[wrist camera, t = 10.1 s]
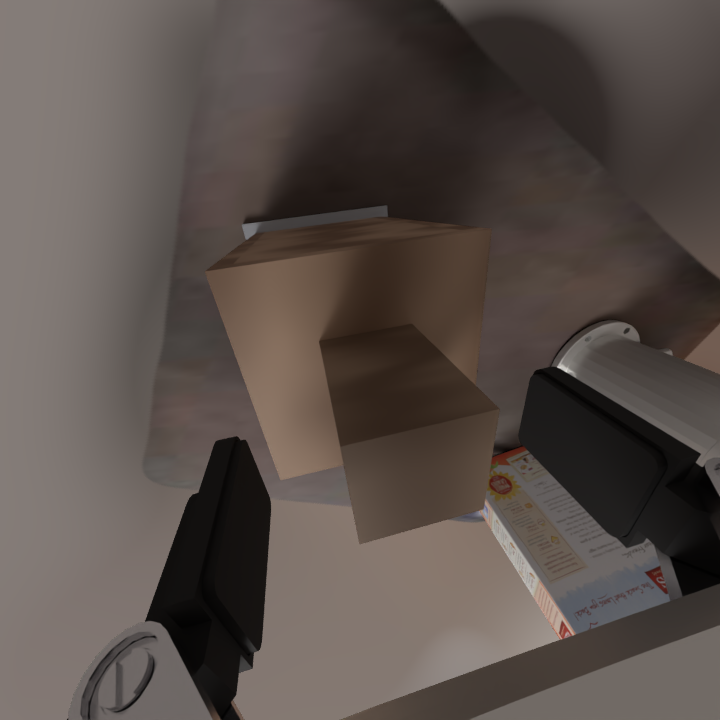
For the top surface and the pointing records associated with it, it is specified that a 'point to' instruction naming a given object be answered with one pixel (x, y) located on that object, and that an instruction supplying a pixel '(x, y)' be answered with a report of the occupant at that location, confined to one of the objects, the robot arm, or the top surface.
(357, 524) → the walnut cover
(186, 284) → the top surface
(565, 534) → the cracker box
